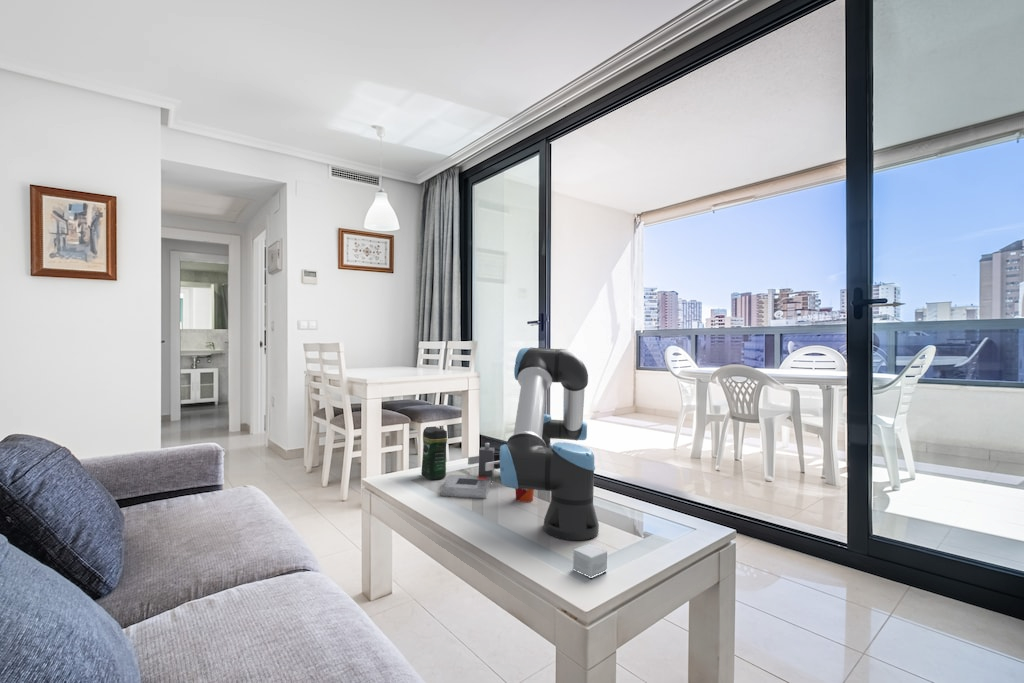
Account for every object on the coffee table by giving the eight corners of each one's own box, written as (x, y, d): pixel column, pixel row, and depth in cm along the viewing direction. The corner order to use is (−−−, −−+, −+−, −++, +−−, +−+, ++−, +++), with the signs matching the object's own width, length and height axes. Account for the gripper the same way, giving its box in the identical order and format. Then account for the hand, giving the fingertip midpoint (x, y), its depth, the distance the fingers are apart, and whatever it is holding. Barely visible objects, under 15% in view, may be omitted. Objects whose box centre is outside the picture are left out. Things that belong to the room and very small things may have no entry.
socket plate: (486, 498, 159) (486, 488, 159) (440, 495, 160) (441, 485, 160) (491, 485, 174) (491, 475, 174) (449, 482, 175) (450, 473, 175)
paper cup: (528, 504, 154) (530, 460, 154) (508, 500, 158) (509, 457, 158) (540, 498, 160) (541, 456, 161) (520, 494, 165) (521, 452, 165)
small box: (588, 563, 114) (589, 542, 114) (607, 573, 110) (608, 551, 110) (571, 570, 110) (572, 548, 111) (590, 580, 106) (591, 557, 106)
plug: (491, 483, 176) (493, 445, 176) (478, 482, 176) (479, 444, 176) (493, 479, 180) (494, 442, 181) (480, 479, 181) (481, 441, 181)
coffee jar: (449, 478, 180) (450, 428, 180) (429, 481, 175) (431, 430, 175) (437, 472, 188) (439, 424, 188) (418, 474, 183) (420, 425, 183)
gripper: (542, 472, 182) (496, 481, 167) (504, 459, 198) (459, 467, 184) (543, 452, 182) (496, 459, 167) (504, 441, 198) (459, 447, 184)
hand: (477, 463), depth 175 cm, fingers open, 10 cm apart
